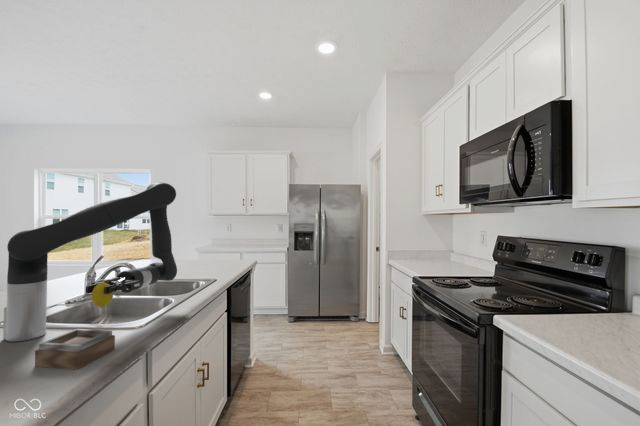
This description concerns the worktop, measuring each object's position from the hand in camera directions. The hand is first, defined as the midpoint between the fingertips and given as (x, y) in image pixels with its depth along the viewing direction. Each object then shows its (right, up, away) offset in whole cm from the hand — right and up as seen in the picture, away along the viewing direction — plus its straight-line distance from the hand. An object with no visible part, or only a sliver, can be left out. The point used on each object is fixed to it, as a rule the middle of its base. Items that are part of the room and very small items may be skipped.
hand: (96, 290), depth 95 cm
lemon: (0, -6, +2) cm, 7 cm away
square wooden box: (+2, -16, -10) cm, 19 cm away
